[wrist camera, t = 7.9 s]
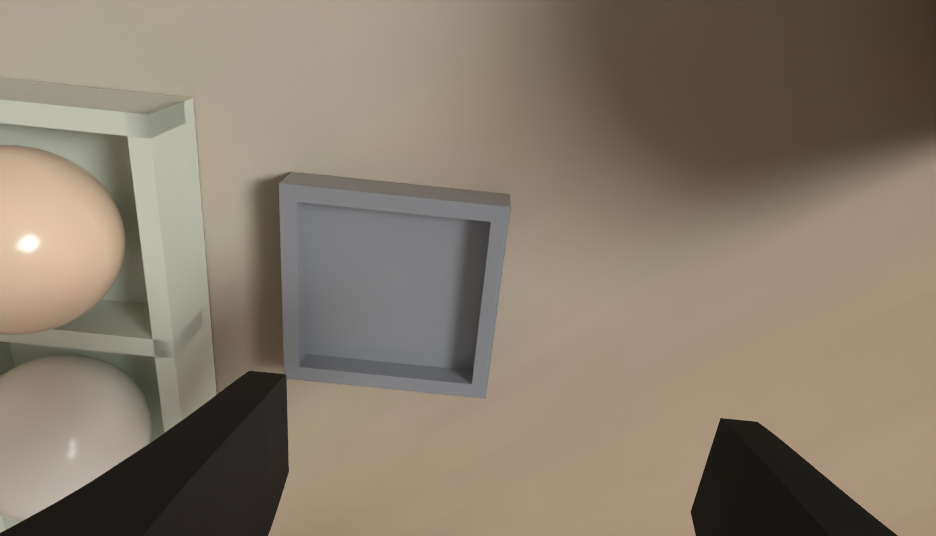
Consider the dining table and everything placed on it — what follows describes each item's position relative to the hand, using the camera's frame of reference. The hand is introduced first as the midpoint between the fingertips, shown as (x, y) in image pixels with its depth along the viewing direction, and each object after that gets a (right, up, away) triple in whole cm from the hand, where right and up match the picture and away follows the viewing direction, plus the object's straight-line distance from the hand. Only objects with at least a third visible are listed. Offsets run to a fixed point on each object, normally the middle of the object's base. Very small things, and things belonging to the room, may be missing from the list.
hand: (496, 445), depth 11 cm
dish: (-3, +3, +10) cm, 11 cm away
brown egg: (-12, +5, +9) cm, 16 cm away
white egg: (-13, -1, +11) cm, 17 cm away
